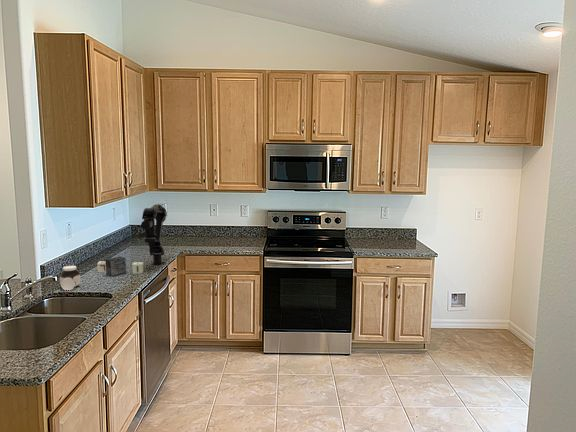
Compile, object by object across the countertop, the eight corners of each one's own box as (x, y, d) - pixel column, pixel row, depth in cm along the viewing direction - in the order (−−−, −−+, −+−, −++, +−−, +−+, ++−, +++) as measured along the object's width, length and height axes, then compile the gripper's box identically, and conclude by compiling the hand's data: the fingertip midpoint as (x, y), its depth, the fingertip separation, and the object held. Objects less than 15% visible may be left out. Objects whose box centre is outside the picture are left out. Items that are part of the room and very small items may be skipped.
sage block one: (133, 271, 289) (133, 262, 289) (143, 271, 291) (143, 261, 290) (132, 274, 283) (132, 264, 282) (142, 273, 285) (142, 263, 284)
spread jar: (76, 284, 260) (75, 264, 259) (85, 287, 253) (84, 267, 252) (55, 288, 251) (53, 268, 250) (64, 292, 244) (62, 271, 243)
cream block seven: (99, 270, 292) (98, 261, 291) (109, 269, 293) (108, 260, 292) (97, 272, 286) (97, 263, 285) (107, 272, 287) (107, 262, 286)
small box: (121, 271, 288) (120, 255, 287) (126, 273, 284) (126, 257, 283) (105, 275, 280) (104, 258, 279) (111, 276, 276) (110, 260, 275)
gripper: (138, 225, 301) (139, 248, 303) (136, 229, 283) (137, 254, 285) (155, 225, 304) (156, 247, 306) (154, 229, 286) (155, 253, 288)
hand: (151, 250), depth 296 cm, fingers closed
